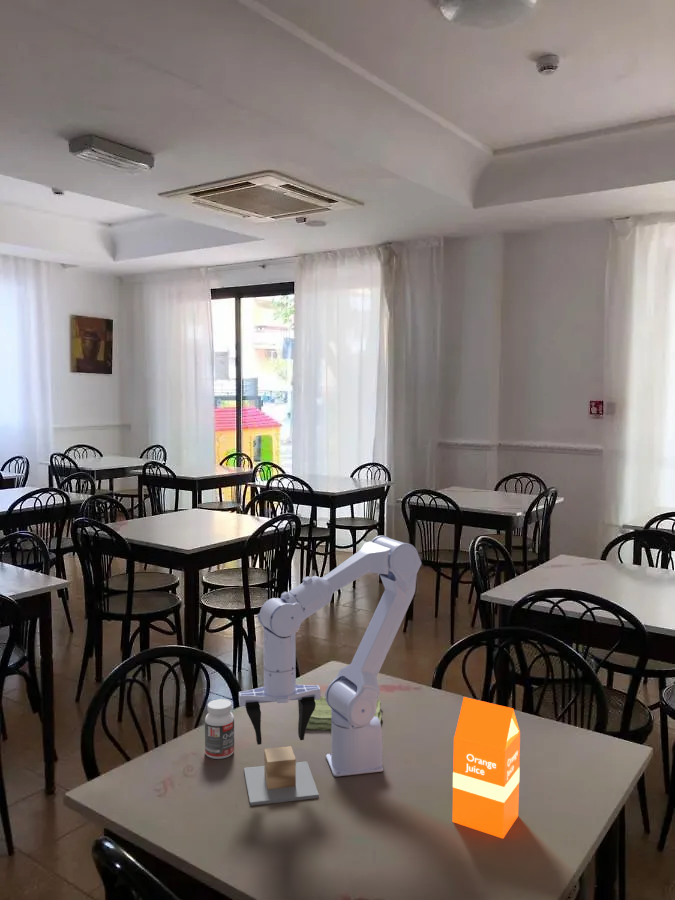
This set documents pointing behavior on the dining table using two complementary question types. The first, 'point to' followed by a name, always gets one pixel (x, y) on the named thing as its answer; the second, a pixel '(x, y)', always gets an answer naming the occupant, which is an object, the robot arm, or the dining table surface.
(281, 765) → the oak cube
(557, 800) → the dining table surface
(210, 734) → the pill bottle
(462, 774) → the orange juice
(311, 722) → the washcloth
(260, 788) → the grey board
